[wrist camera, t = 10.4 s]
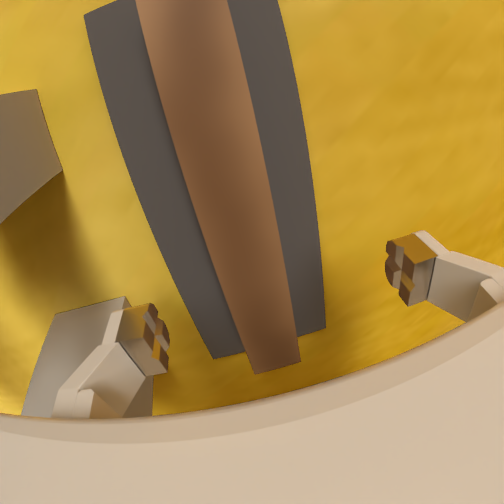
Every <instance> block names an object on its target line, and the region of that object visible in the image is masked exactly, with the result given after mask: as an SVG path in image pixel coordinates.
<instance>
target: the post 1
mask: <svg viewBox="0 0 504 504" xmlns="http://www.w3.org/2000/svg"><path fill="white" fill-rule="evenodd" d="M62 170H63V169H62V167H61V164H60V161H59V159H58V156H57V153H56V151H55V148H54V145H53V142H52V139H51V136H50V133H49V130H48V127H47V124H46V121H45V118H44V115H43V111H42V108H41V104H40V101H39V97H38V94H37V90H36V89H33V90H26V91H20V92H13V93H8V94H2V95H0V224H1V223H2V222H3V221H4V220H5V219H6V218H7V217H8V216H9V215H10V214H11V213H12V212H13V211H14V210H15V209H17V208H18V207H19V206H20V205H21V204H22V203H23V202H24V201H25V200H27V199H28V198H29V197H30V196H31V195H32V194H34V193H35V192H36V191H37V190H38V189H39V188H41V187H42V186H43V185H44V184H46V183H47V182H48V181H49V180H51V179H52V178H53V177H54V176H56V175H57V174H58V173H60V172H61V171H62Z"/></svg>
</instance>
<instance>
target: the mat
mask: <svg viewBox="0 0 504 504" xmlns="http://www.w3.org/2000/svg"><path fill="white" fill-rule="evenodd" d="M227 3H228V7H229V10H230V14H231V18H232V22H233V26H234V30H235V34H236V38H237V42H238V46H239V50H240V54H241V58H242V63H243V67H244V71H245V75H246V79H247V84H248V88H249V92H250V97H251V101H252V106H253V110H254V115H255V119H256V124H257V128H258V133H259V137H260V142H261V147H262V151H263V156H264V161H265V166H266V171H267V176H268V180H269V185H270V190H271V195H272V200H273V206H274V211H275V216H276V221H277V226H278V231H279V237H280V242H281V247H282V253H283V258H284V264H285V269H286V275H287V281H288V286H289V292H290V298H291V304H292V310H293V316H294V322H295V328H296V334H297V337H299V336H302V335H305V334H309V333H312V332H315V331H318V330H321V329H324V328H326V321H325V303H324V288H323V275H322V262H321V251H320V241H319V231H318V221H317V212H316V204H315V196H314V188H313V180H312V173H311V166H310V159H309V152H308V146H307V139H306V133H305V127H304V121H303V115H302V110H301V104H300V99H299V93H298V88H297V83H296V78H295V73H294V68H293V64H292V59H291V54H290V50H289V45H288V41H287V37H286V32H285V28H284V24H283V20H282V16H281V12H280V8H279V4H278V1H277V0H227ZM84 19H85V24H86V29H87V33H88V38H89V42H90V47H91V51H92V55H93V59H94V63H95V67H96V70H97V74H98V78H99V82H100V85H101V89H102V92H103V96H104V99H105V102H106V106H107V109H108V112H109V115H110V119H111V122H112V125H113V128H114V131H115V134H116V137H117V140H118V143H119V146H120V149H121V152H122V155H123V158H124V160H125V163H126V166H127V169H128V172H129V174H130V177H131V180H132V182H133V185H134V188H135V190H136V193H137V195H138V198H139V201H140V203H141V206H142V208H143V211H144V213H145V216H146V218H147V221H148V223H149V225H150V228H151V230H152V233H153V235H154V237H155V240H156V242H157V244H158V247H159V249H160V251H161V253H162V256H163V258H164V260H165V262H166V265H167V267H168V269H169V271H170V273H171V276H172V278H173V280H174V282H175V284H176V286H177V288H178V291H179V293H180V295H181V297H182V299H183V301H184V303H185V305H186V307H187V309H188V311H189V313H190V315H191V317H192V319H193V321H194V323H195V325H196V327H197V329H198V331H199V333H200V335H201V337H202V339H203V341H204V343H205V345H206V346H207V348H208V350H209V352H210V354H211V356H212V358H213V359H217V358H221V357H225V356H229V355H234V354H238V353H242V352H245V348H244V346H243V343H242V340H241V338H240V335H239V333H238V330H237V327H236V325H235V322H234V319H233V317H232V314H231V311H230V309H229V306H228V303H227V301H226V298H225V295H224V292H223V290H222V287H221V284H220V281H219V279H218V276H217V273H216V270H215V267H214V265H213V262H212V259H211V256H210V253H209V250H208V247H207V245H206V242H205V239H204V236H203V233H202V230H201V227H200V224H199V221H198V218H197V215H196V212H195V209H194V206H193V203H192V200H191V197H190V194H189V191H188V188H187V185H186V181H185V178H184V175H183V172H182V169H181V166H180V162H179V159H178V156H177V153H176V149H175V146H174V143H173V140H172V136H171V133H170V130H169V126H168V123H167V119H166V116H165V112H164V109H163V106H162V102H161V98H160V95H159V91H158V88H157V84H156V81H155V77H154V73H153V69H152V66H151V62H150V58H149V54H148V50H147V47H146V43H145V39H144V35H143V31H142V27H141V22H140V18H139V14H138V10H137V6H136V1H135V0H117V1H114V2H112V3H109V4H107V5H105V6H102V7H100V8H98V9H96V10H93V11H91V12H89V13H87V14H85V15H84Z"/></svg>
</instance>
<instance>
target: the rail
mask: <svg viewBox="0 0 504 504" xmlns="http://www.w3.org/2000/svg"><path fill="white" fill-rule="evenodd" d="M135 1H136V6H137V10H138V14H139V18H140V22H141V27H142V31H143V35H144V39H145V43H146V47H147V50H148V54H149V58H150V62H151V66H152V69H153V73H154V77H155V81H156V84H157V88H158V91H159V95H160V98H161V102H162V106H163V109H164V112H165V116H166V119H167V123H168V126H169V130H170V133H171V136H172V140H173V143H174V146H175V149H176V153H177V156H178V159H179V162H180V166H181V169H182V172H183V175H184V178H185V181H186V185H187V188H188V191H189V194H190V197H191V200H192V203H193V206H194V209H195V212H196V215H197V218H198V221H199V224H200V227H201V230H202V233H203V236H204V239H205V242H206V245H207V247H208V250H209V253H210V256H211V259H212V262H213V265H214V267H215V270H216V273H217V276H218V279H219V281H220V284H221V287H222V290H223V292H224V295H225V298H226V301H227V303H228V306H229V309H230V311H231V314H232V317H233V319H234V322H235V325H236V327H237V330H238V333H239V335H240V338H241V340H242V343H243V346H244V348H245V351H246V353H247V356H248V358H249V361H250V363H251V366H252V369H253V371H254V374H259V373H263V372H267V371H270V370H274V369H278V368H281V367H285V366H288V365H291V364H295V363H298V362H301V359H300V353H299V346H298V340H297V334H296V328H295V322H294V316H293V310H292V304H291V298H290V292H289V286H288V281H287V275H286V269H285V264H284V258H283V253H282V247H281V242H280V237H279V231H278V226H277V221H276V216H275V211H274V206H273V200H272V195H271V190H270V185H269V180H268V176H267V171H266V166H265V161H264V156H263V151H262V147H261V142H260V137H259V133H258V128H257V124H256V119H255V115H254V110H253V106H252V101H251V97H250V92H249V88H248V84H247V79H246V75H245V71H244V67H243V63H242V58H241V54H240V50H239V46H238V42H237V38H236V34H235V30H234V26H233V22H232V18H231V14H230V10H229V7H228V3H227V0H135Z"/></svg>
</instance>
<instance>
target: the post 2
mask: <svg viewBox="0 0 504 504" xmlns="http://www.w3.org/2000/svg"><path fill="white" fill-rule="evenodd" d="M129 307H131V305H130V304H129V302H128V301H127V299H126V297H125V296H124V297H120V298H116V299H113V300H109V301H105V302H101V303H97V304H94V305H90V306H86V307H82V308H78V309H74V310H70V311H67V312H63V313H59V314H55V316H54V319H53V321H52V323H51V326H50V328H49V331H48V333H47V336H46V338H45V341H44V344H43V346H42V349H41V352H40V354H39V357H38V360H37V363H36V366H35V369H34V372H33V375H32V378H31V381H30V385H29V388H28V391H27V395H26V398H25V402H24V405H23V409H22V413H21V416H31V417H44V418H51V416H52V412H53V408H54V404H55V400H56V397H57V393H58V390H59V389H60V387H61V386H62V385H63V384H64V383H65V382H66V381H67V379H68V378H69V377H70V376H71V375H72V374H73V373H74V372H75V370H76V369H77V368H78V367H79V366H80V365H81V364H82V363H83V362H84V360H85V359H86V358H87V357H88V356H89V355H90V354H91V353H92V352H93V351H94V350H95V348H96V347H97V346H99V345H102V342H103V338H104V335H105V331H106V328H107V325H108V321H109V318H110V315H111V313H112V312H113V311H116V310H120V309H125V308H129ZM153 376H154V375H150V376H145V377H146V378H145V380H144V381H143V383H142V385H141V386H140V388H139V390H138V391H137V393H136V395H135V396H134V398H133V400H132V401H131V403H130V405H129V406H128V408H127V410H126V411H125V413H124V415H123V416H122V418H133V417H147V416H152V401H153Z"/></svg>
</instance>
